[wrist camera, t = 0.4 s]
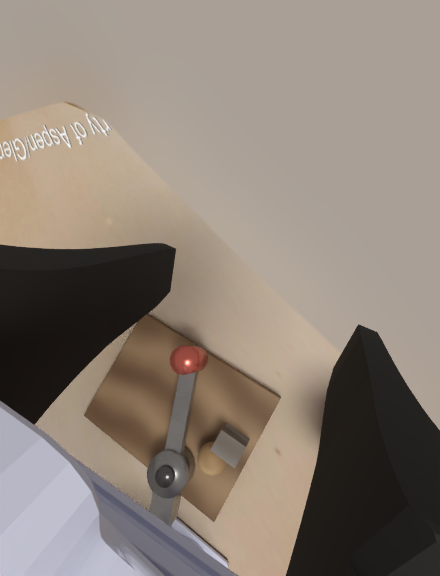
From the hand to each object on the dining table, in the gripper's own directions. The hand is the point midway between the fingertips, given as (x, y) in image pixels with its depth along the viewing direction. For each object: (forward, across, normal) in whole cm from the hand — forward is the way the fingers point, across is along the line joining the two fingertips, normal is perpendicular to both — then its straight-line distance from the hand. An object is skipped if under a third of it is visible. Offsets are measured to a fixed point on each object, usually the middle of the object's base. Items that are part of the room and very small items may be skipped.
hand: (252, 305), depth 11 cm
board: (+13, +7, +27) cm, 30 cm away
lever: (+11, +5, +26) cm, 29 cm away
